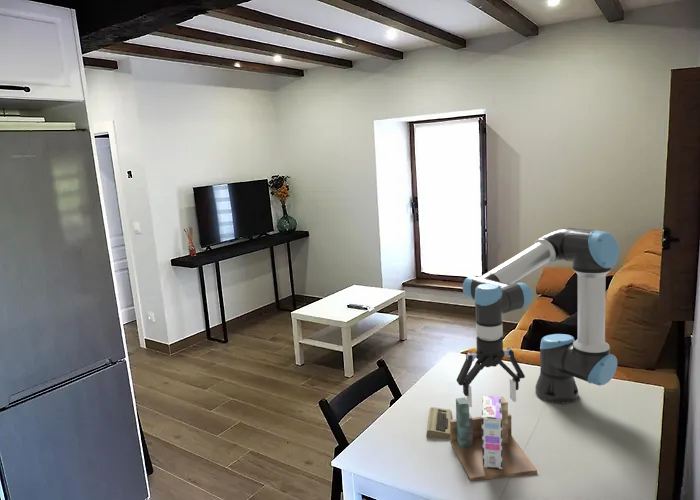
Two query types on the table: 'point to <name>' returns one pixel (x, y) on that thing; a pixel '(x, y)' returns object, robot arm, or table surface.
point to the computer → (439, 423)
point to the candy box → (492, 432)
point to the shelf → (470, 445)
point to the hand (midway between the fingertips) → (491, 402)
